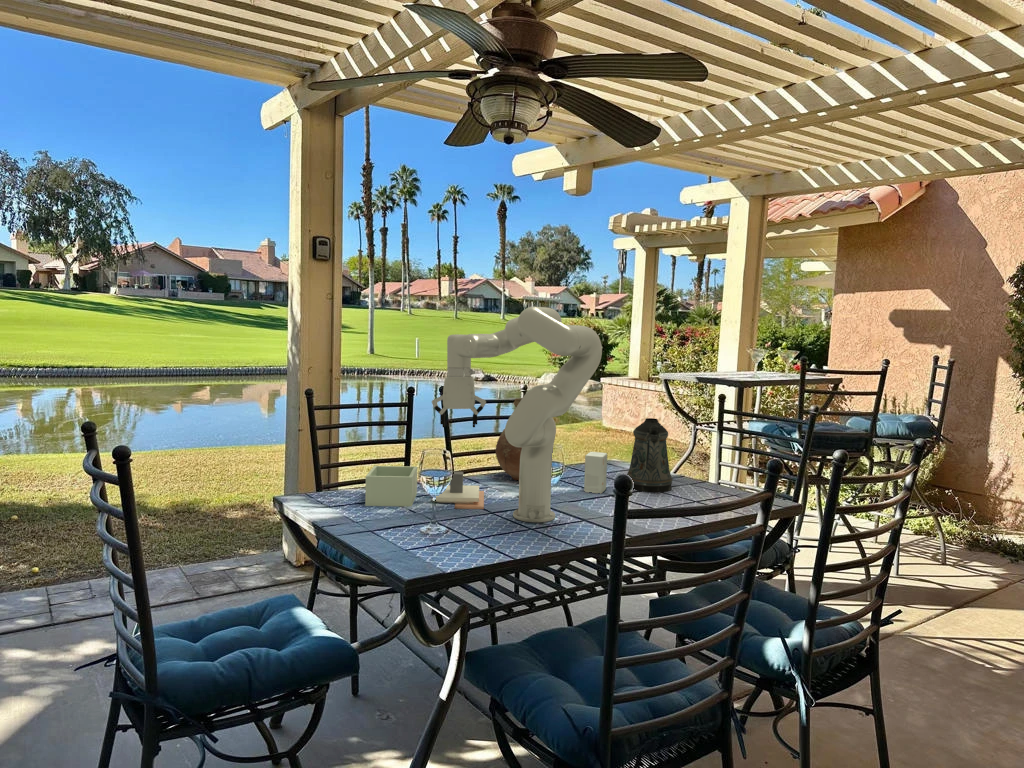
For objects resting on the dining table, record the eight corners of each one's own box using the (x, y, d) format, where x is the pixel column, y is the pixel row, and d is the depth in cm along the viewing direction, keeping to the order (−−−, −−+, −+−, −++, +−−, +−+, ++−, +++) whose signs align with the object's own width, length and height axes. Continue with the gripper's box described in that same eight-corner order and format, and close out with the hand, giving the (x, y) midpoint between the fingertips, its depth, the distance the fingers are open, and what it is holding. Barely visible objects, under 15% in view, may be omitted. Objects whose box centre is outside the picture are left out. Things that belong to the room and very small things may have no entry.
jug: (484, 475, 257) (486, 397, 255) (529, 470, 270) (531, 395, 267) (517, 487, 239) (520, 403, 237) (564, 481, 252) (567, 400, 250)
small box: (588, 487, 243) (590, 451, 242) (606, 489, 241) (607, 452, 240) (583, 492, 236) (584, 455, 235) (601, 494, 234) (602, 456, 233)
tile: (483, 509, 210) (483, 506, 210) (425, 508, 209) (425, 505, 209) (483, 493, 230) (483, 490, 230) (430, 492, 229) (430, 490, 229)
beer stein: (654, 481, 257) (657, 415, 254) (686, 493, 239) (690, 422, 237) (616, 483, 250) (619, 416, 248) (646, 496, 232) (649, 423, 230)
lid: (478, 504, 212) (479, 479, 211) (431, 504, 211) (432, 478, 210) (479, 492, 228) (479, 468, 227) (435, 491, 228) (435, 467, 227)
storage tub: (411, 509, 207) (412, 477, 206) (365, 508, 207) (365, 476, 206) (416, 496, 223) (417, 466, 222) (373, 495, 222) (374, 465, 222)
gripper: (486, 372, 220) (485, 425, 221) (432, 372, 220) (432, 425, 221) (486, 374, 213) (485, 428, 214) (430, 373, 212) (430, 428, 213)
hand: (458, 426), depth 217 cm, fingers open, 9 cm apart
